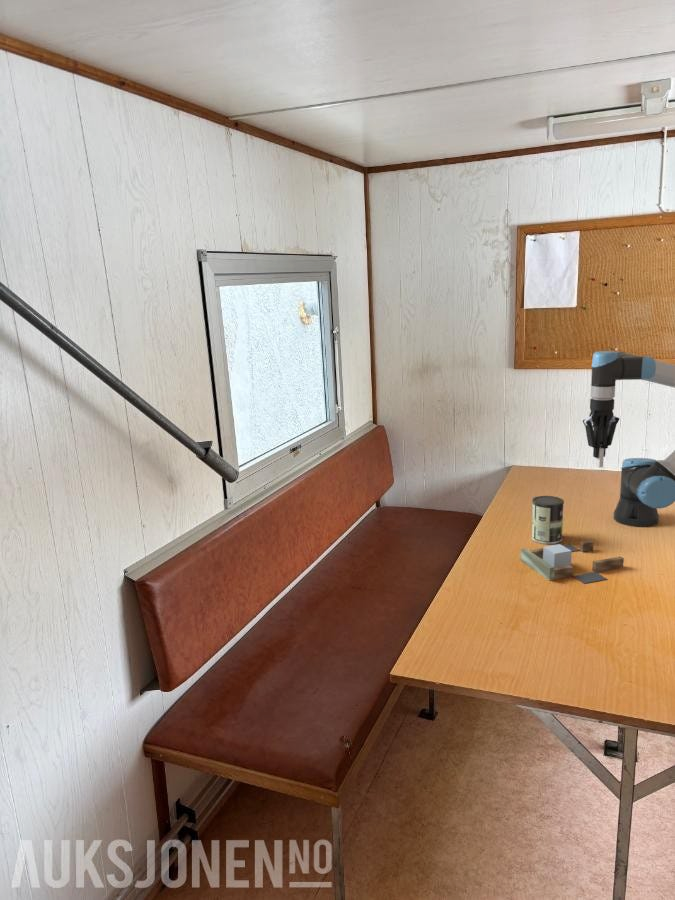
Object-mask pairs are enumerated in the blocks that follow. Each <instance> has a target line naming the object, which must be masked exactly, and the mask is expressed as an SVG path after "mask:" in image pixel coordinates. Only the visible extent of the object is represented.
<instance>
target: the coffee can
mask: <svg viewBox="0 0 675 900" xmlns="http://www.w3.org/2000/svg"><path fill="white" fill-rule="evenodd" d="M531 502H532V512H531V513H532V517H531V539H532V540H533V541H534V542H535V543H538V544H542V545H543V544H544V545H558V544H561V542H562V541H563V521H564V504H565V499H563V498H561V497H557V496H552V495H539V496H534V497H533V498H532V499H531Z"/></svg>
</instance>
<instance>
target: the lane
mask: <svg viewBox="0 0 675 900" xmlns="http://www.w3.org/2000/svg"><path fill="white" fill-rule="evenodd" d="M594 542H595V541H592V540H584V541H580V543H579V544H580V545H579V550H580V551H579V552H580V553H581V552H582V553H587V552H591V551H594ZM520 561H521V563H524V564H525V565H526V566H528V567H529V568H531V569H532V570H533V571H535V572H536V573H538V574H540V575H541V576H542V577H543V578H545V579H546V580H548V581H554V580H559V579H566V578H570V577H571V578H572V577H573V576H574V575H573V574H574V566H572V565H571V566H570V565H569V566H563V567H557V568H554V567H553V566H552V565H550V564H549V563H547V562H545V561H544V560H543V547H542V548H535V549H527V548H521V549H520ZM624 561H625V559H624V557H623V556H616V557H611V558H610V557H609V558H605V559H599V560H592V569H591V570H592V572H597V573H600V572H604V571H605V572H606V571H610V570H616V569H617V570H618V569H622V568H624Z"/></svg>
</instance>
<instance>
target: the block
mask: <svg viewBox="0 0 675 900" xmlns="http://www.w3.org/2000/svg"><path fill="white" fill-rule="evenodd" d="M562 545H563V544H561V543H557V544H550V545H548V546H547V545H546V546H543V547H542V548H543V559H542V560H544V561H545V562H547V563H549V564H550V565H552V566H553V567H554V568H557V567H563V566H569V565H570V566H572V553H573V552H572V551H571V550H569V549H567V548H566V547H564V546H562Z"/></svg>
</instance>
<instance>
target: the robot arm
mask: <svg viewBox="0 0 675 900" xmlns="http://www.w3.org/2000/svg"><path fill="white" fill-rule="evenodd" d="M591 361H592V362H591V383H590V399H589V409H590V413H589V415H588V417H587V418H586V419H583V420H582V424H583V425H584V427H585V433H586V440H587V444H588V445H587V446H589V447H590V448H592V449H593V452H592V453H593V454H592V457H594V464H593V465H594V466H595V467H597V468H600V469H601V468H604V458H605V457H606V452H607V451H606V450H607V449H608V448H609V446H610V447H611V446H612V442H613V439H614V434H615V432H616V427H617V424H618V423H619V421H620V417H617V416H616V415H614V412H613V411H614V409H615V399H614V398H615V397H616V381H631V380H634V381H636V380H641V381H647V382H649V383H654V384H658V385H663V386H667V387H671V388H675V364H674V363H668V362H665V361H660V360H657V359H656V360H655V358H654V357H653V356H645V355H643V356H639V355H636V354H631V353H628V352H624V351H613V350H602V351H601V350H599V351H595V352H594V353H593V355H592V360H591ZM620 469H621V473H620V475H621V476H620V491H619V499H618V503H617V505H616V508H615V509H614V511H613V520H615V521H616V522H618V523H619V524H623V525H626V526H631V527H642V528H643V527H652V526H656V525H657V524H658V523H659V519H660V515H659V513H658V512H659V511H658V509H664V508H667V507H669V506H672V505H673V504H674V503H675V450H673V451H672V452H671V454H669V455H668V456H667V457H666V458H665V459H654V458H646V457H631V458H625V459H624V460H622V464H621V468H620Z"/></svg>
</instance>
